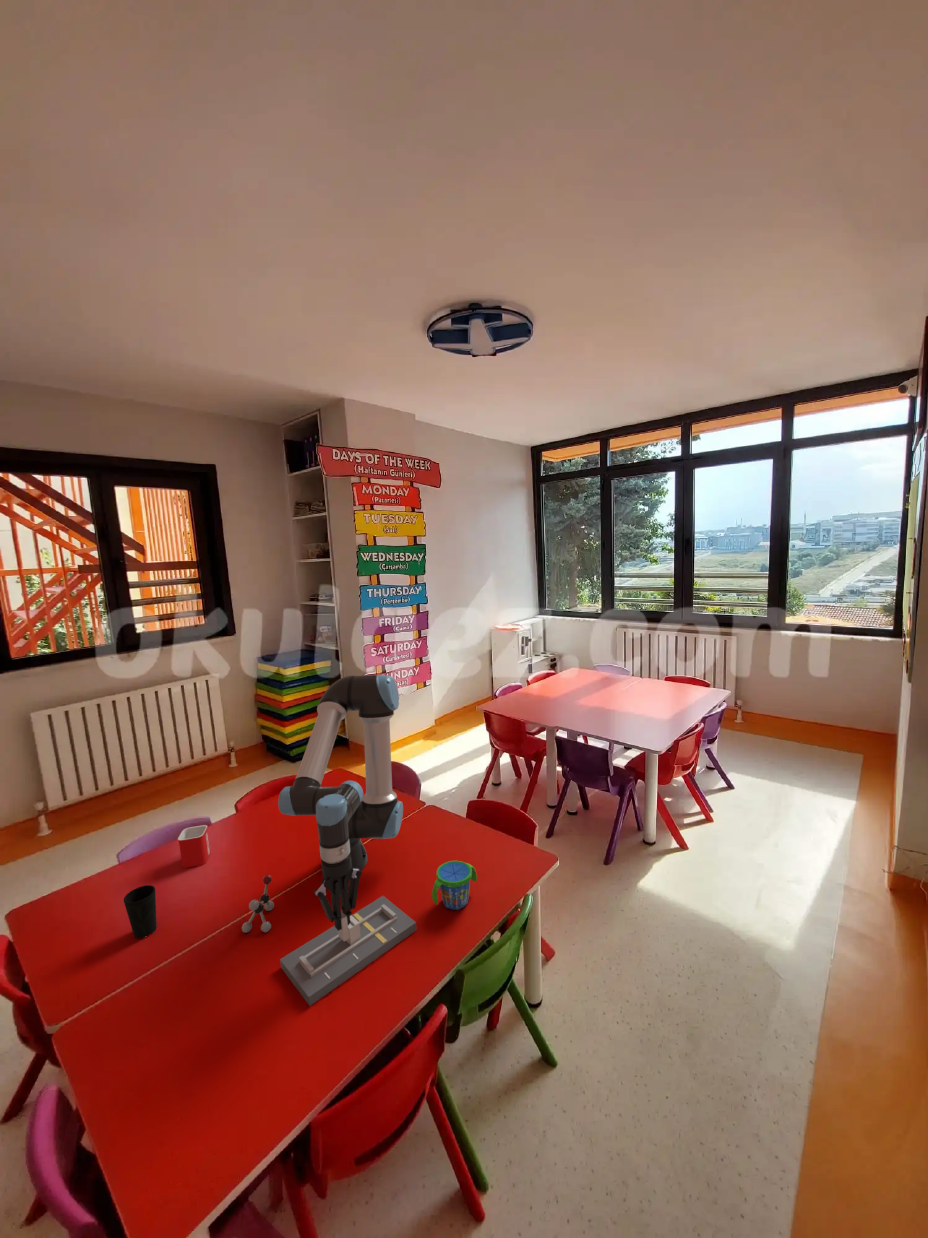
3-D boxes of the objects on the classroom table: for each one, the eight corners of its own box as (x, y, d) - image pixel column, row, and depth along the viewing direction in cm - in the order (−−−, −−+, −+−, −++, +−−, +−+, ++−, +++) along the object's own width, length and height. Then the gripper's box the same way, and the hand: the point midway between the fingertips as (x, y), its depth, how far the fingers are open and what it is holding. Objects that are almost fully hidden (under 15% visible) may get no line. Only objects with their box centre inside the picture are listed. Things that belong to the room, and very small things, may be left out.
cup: (167, 924, 147) (161, 887, 145) (143, 944, 140) (136, 905, 138) (147, 919, 149) (142, 883, 148) (123, 939, 142) (116, 900, 141)
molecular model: (240, 935, 141) (236, 901, 140) (259, 905, 153) (255, 873, 152) (269, 934, 141) (264, 900, 139) (285, 904, 153) (281, 872, 151)
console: (280, 967, 129) (279, 953, 129) (383, 903, 151) (382, 891, 150) (309, 1006, 118) (308, 991, 117) (416, 930, 139) (415, 917, 139)
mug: (206, 865, 175) (202, 836, 173) (180, 869, 173) (176, 841, 172) (214, 845, 186) (211, 819, 185) (190, 849, 185) (187, 823, 183)
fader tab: (343, 938, 135) (341, 920, 134) (353, 932, 137) (351, 914, 136) (351, 946, 132) (349, 928, 131) (360, 939, 134) (359, 922, 133)
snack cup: (467, 882, 158) (465, 852, 157) (487, 901, 149) (485, 869, 148) (424, 903, 150) (422, 872, 148) (442, 924, 141) (440, 891, 140)
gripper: (319, 874, 122) (328, 960, 125) (365, 850, 131) (372, 931, 134) (305, 861, 128) (314, 944, 131) (350, 839, 136) (357, 917, 140)
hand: (343, 937), depth 133 cm, fingers closed
